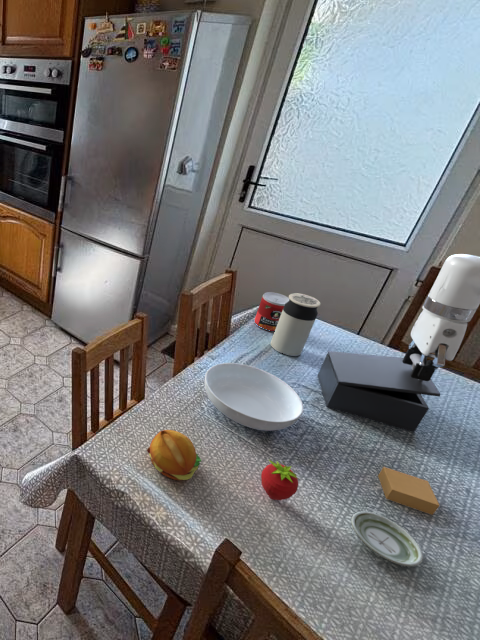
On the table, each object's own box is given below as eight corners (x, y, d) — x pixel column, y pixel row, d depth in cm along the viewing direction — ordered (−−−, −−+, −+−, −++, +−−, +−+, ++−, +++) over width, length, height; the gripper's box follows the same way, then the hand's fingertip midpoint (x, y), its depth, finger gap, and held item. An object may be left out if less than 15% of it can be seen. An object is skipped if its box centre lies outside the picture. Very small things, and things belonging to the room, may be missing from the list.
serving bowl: (224, 371, 120) (230, 352, 117) (308, 418, 104) (318, 397, 101) (183, 401, 109) (188, 381, 106) (270, 458, 94) (279, 436, 91)
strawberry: (248, 497, 85) (262, 465, 81) (262, 477, 89) (276, 444, 85) (281, 520, 81) (298, 486, 77) (294, 497, 85) (311, 464, 81)
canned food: (256, 329, 138) (266, 301, 133) (251, 317, 144) (260, 290, 140) (283, 334, 135) (294, 306, 130) (277, 321, 142) (287, 294, 137)
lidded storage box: (395, 395, 110) (408, 372, 107) (414, 432, 99) (429, 408, 96) (317, 375, 118) (327, 353, 114) (326, 407, 107) (337, 384, 104)
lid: (417, 361, 105) (421, 344, 103) (439, 396, 94) (443, 378, 92) (327, 353, 114) (329, 337, 113) (338, 383, 103) (340, 366, 102)
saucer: (423, 550, 76) (429, 542, 75) (409, 585, 71) (416, 577, 70) (356, 508, 83) (361, 501, 82) (339, 538, 78) (344, 530, 77)
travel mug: (302, 360, 124) (323, 309, 116) (270, 351, 127) (289, 302, 120) (299, 345, 130) (319, 297, 122) (269, 338, 134) (287, 290, 126)
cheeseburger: (204, 461, 93) (211, 438, 87) (184, 500, 87) (190, 478, 82) (159, 435, 99) (163, 411, 94) (138, 470, 94) (141, 447, 88)
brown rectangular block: (421, 490, 86) (428, 481, 85) (432, 515, 81) (440, 505, 80) (377, 475, 89) (383, 466, 88) (386, 499, 85) (392, 489, 83)
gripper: (491, 332, 84) (451, 399, 92) (455, 294, 98) (423, 356, 105) (440, 322, 88) (405, 388, 95) (412, 288, 101) (383, 347, 109)
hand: (415, 370), depth 100 cm, fingers closed on lid, 5 cm apart
